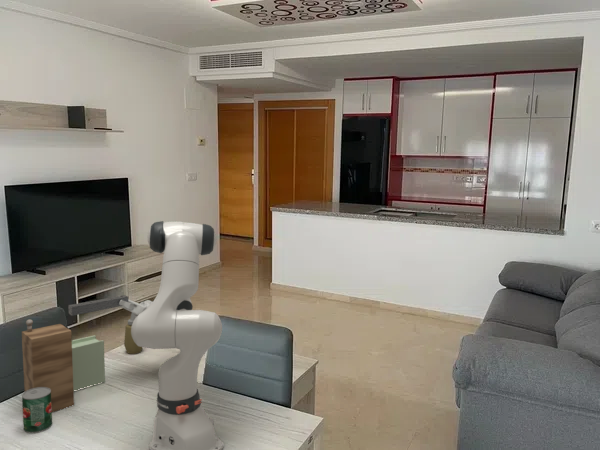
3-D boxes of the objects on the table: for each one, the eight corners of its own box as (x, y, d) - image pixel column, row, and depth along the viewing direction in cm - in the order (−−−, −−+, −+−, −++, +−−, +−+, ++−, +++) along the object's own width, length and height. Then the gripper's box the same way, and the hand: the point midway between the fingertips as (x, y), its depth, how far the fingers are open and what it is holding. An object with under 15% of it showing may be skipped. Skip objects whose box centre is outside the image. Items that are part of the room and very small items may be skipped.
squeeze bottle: (140, 355, 206) (139, 314, 204) (121, 355, 206) (120, 314, 204) (146, 348, 214) (145, 309, 212) (128, 348, 214) (127, 308, 212)
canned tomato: (57, 424, 150) (56, 391, 149) (32, 436, 143) (30, 401, 142) (43, 417, 154) (41, 384, 153) (18, 428, 148) (16, 394, 146)
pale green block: (105, 382, 180) (103, 340, 178) (63, 395, 169) (61, 351, 167) (96, 375, 185) (94, 335, 184) (54, 387, 175) (53, 344, 173)
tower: (74, 405, 162) (70, 319, 159) (35, 417, 154) (31, 327, 150) (63, 395, 169) (59, 312, 166) (25, 406, 161) (21, 319, 157)
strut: (128, 304, 177) (128, 296, 176) (72, 315, 162) (71, 307, 162) (124, 302, 179) (124, 295, 178) (68, 313, 165) (68, 305, 164)
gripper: (138, 299, 192) (108, 287, 183) (164, 310, 178) (133, 297, 169) (131, 314, 191) (100, 302, 181) (157, 326, 176) (125, 314, 167)
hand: (116, 300), depth 175 cm, fingers closed on strut, 3 cm apart
